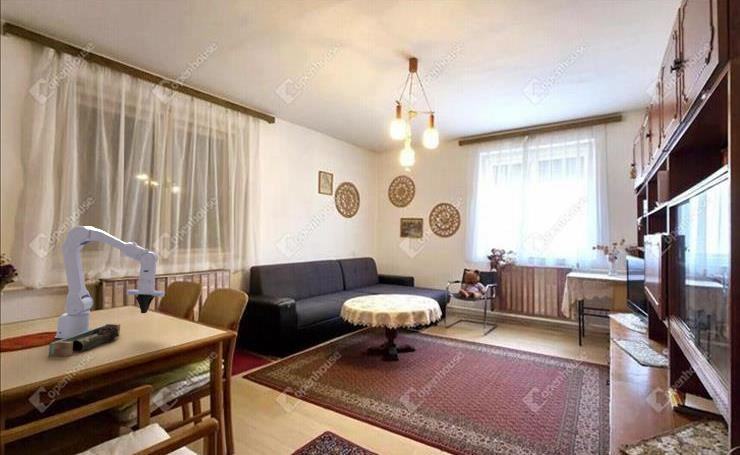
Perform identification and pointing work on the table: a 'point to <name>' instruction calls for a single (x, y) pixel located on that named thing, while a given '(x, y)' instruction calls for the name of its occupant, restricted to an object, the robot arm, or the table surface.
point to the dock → (66, 344)
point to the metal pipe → (95, 338)
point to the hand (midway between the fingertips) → (143, 312)
